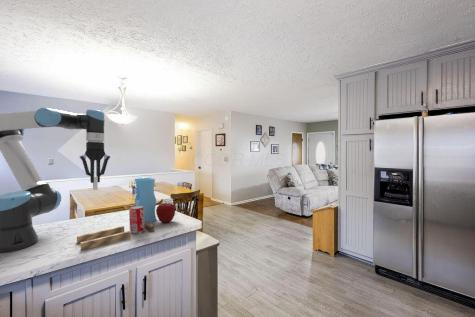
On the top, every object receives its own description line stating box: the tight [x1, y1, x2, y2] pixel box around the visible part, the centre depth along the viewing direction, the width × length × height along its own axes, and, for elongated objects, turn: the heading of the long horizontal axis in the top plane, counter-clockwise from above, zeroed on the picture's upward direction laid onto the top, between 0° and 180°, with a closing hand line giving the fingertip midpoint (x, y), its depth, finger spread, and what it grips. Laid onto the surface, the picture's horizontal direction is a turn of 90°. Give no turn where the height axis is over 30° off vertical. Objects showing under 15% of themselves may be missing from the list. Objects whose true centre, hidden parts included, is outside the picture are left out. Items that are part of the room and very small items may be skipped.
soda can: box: [128, 205, 146, 235], centre depth 117 cm, size 7×7×13 cm
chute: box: [76, 225, 132, 251], centre depth 106 cm, size 20×12×3 cm, turn 133°
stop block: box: [145, 221, 156, 233], centre depth 120 cm, size 2×12×3 cm, turn 43°
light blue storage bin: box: [134, 177, 157, 223], centre depth 136 cm, size 10×10×25 cm
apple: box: [155, 202, 176, 224], centre depth 132 cm, size 11×11×12 cm
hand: (95, 189), depth 112 cm, fingers closed
